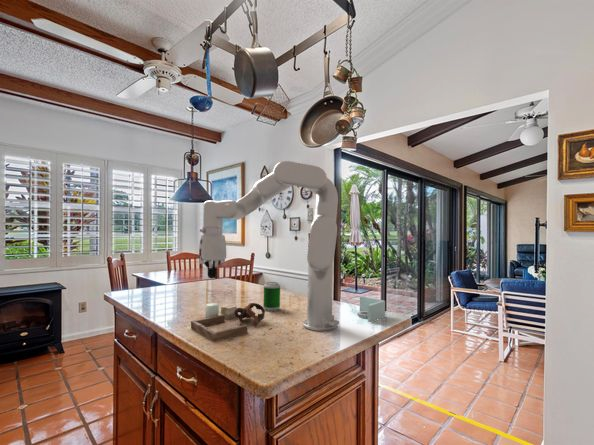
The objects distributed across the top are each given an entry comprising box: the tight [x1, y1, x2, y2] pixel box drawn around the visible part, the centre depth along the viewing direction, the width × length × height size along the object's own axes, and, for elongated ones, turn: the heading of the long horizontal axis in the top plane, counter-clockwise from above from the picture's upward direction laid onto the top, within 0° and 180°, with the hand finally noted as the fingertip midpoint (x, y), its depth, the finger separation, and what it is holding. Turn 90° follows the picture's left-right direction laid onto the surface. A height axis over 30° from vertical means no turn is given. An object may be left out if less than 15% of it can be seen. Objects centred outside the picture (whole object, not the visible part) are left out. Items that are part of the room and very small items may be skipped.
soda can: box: [262, 281, 281, 312], centre depth 140 cm, size 8×8×12 cm
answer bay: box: [190, 314, 248, 342], centre depth 111 cm, size 17×13×3 cm
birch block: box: [220, 304, 238, 320], centre depth 127 cm, size 4×4×4 cm
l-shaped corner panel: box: [356, 295, 386, 323], centre depth 131 cm, size 12×12×8 cm
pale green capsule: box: [205, 302, 220, 318], centre depth 123 cm, size 5×5×6 cm
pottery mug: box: [234, 302, 266, 326], centre depth 120 cm, size 12×10×8 cm
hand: (211, 277), depth 122 cm, fingers closed
